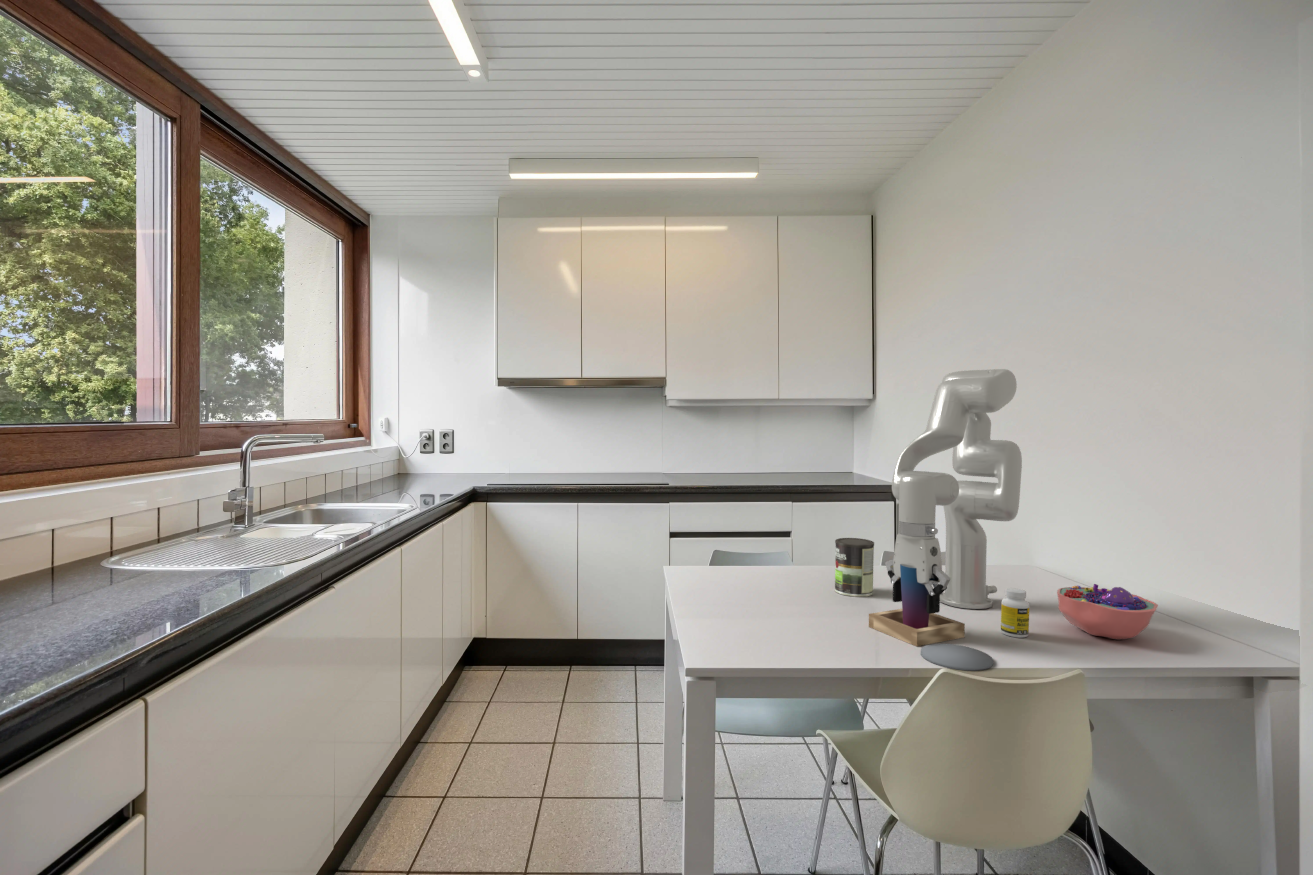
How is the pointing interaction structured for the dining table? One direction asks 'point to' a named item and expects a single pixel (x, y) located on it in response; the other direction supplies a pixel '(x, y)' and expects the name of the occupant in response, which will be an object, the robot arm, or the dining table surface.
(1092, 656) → the dining table surface
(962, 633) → the socket
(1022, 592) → the supplement bottle
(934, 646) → the disc
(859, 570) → the coffee can
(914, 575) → the cup
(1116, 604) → the cell model
